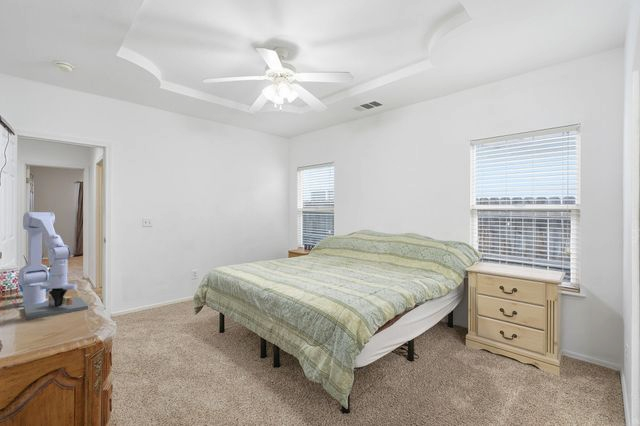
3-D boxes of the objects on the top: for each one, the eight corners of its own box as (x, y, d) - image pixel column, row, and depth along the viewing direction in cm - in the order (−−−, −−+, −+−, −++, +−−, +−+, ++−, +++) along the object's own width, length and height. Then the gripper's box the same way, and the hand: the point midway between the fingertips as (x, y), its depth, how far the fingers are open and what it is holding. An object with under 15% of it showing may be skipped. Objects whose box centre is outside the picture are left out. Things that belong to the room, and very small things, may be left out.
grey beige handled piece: (45, 305, 134) (46, 295, 134) (59, 302, 139) (59, 293, 139) (64, 309, 130) (64, 299, 130) (77, 306, 134) (77, 296, 134)
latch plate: (23, 308, 135) (23, 305, 135) (80, 299, 150) (80, 296, 150) (26, 320, 122) (26, 316, 122) (87, 309, 136) (87, 305, 136)
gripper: (82, 273, 135) (82, 303, 135) (49, 272, 134) (49, 303, 134) (70, 276, 128) (69, 308, 128) (35, 275, 127) (34, 308, 127)
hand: (58, 306), depth 130 cm, fingers closed, pressing on grey beige handled piece
